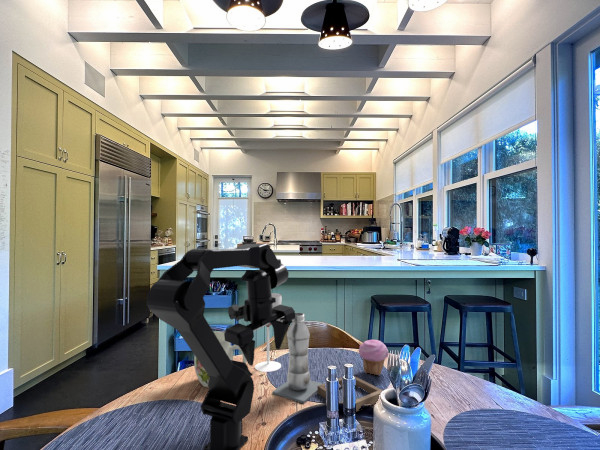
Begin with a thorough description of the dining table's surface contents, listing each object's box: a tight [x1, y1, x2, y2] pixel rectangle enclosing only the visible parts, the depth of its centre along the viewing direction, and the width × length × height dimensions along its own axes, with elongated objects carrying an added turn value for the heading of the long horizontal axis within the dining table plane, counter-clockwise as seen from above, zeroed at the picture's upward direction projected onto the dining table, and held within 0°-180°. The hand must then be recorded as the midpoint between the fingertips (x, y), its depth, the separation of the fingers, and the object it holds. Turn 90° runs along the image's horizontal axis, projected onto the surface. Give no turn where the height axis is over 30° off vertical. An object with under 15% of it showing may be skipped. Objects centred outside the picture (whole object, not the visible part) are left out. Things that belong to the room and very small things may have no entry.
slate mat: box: [272, 379, 323, 404], centre depth 86 cm, size 11×10×1 cm
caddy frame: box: [317, 375, 384, 413], centre depth 82 cm, size 12×12×2 cm
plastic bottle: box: [286, 312, 311, 390], centre depth 86 cm, size 6×7×20 cm
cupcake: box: [358, 339, 389, 376], centre depth 97 cm, size 9×9×10 cm
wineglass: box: [254, 292, 283, 373], centre depth 103 cm, size 9×10×23 cm
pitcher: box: [193, 331, 248, 388], centre depth 91 cm, size 11×18×14 cm, turn 83°
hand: (264, 356), depth 77 cm, fingers open, 9 cm apart
